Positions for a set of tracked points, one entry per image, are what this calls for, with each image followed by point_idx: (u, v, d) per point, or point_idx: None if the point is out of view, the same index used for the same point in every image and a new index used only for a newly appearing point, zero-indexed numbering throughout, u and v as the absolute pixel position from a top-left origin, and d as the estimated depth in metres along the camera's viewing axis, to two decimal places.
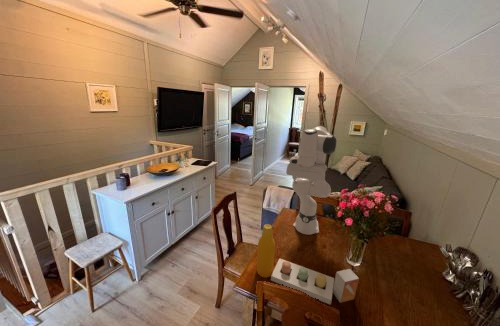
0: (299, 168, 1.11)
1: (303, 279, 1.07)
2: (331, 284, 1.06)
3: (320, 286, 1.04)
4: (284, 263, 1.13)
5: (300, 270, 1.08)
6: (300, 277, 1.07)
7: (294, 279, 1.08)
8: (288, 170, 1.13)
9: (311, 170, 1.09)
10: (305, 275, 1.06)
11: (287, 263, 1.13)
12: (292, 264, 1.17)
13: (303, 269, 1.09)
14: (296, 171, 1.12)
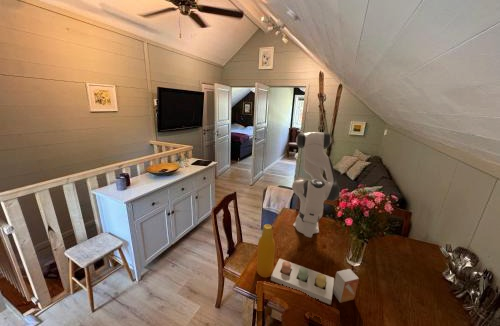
0: None
1: (303, 279, 1.07)
2: (331, 284, 1.06)
3: (320, 286, 1.04)
4: (284, 263, 1.13)
5: (300, 270, 1.08)
6: (300, 277, 1.07)
7: (294, 279, 1.08)
8: None
9: None
10: (305, 275, 1.06)
11: (287, 263, 1.13)
12: (292, 264, 1.17)
13: (303, 269, 1.09)
14: None
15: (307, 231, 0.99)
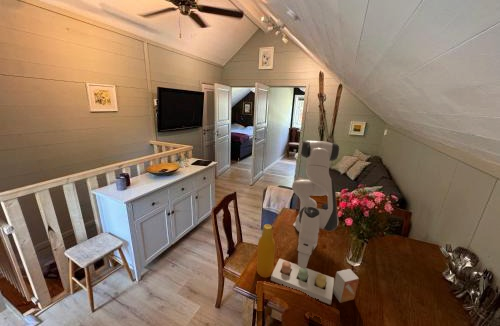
0: None
1: (303, 279, 1.07)
2: (331, 284, 1.06)
3: (320, 286, 1.04)
4: (284, 263, 1.13)
5: (300, 270, 1.08)
6: (300, 277, 1.07)
7: (294, 279, 1.08)
8: (307, 263, 0.96)
9: None
10: (305, 275, 1.06)
11: (287, 263, 1.13)
12: (292, 264, 1.17)
13: (303, 269, 1.09)
14: None
15: (301, 262, 0.96)
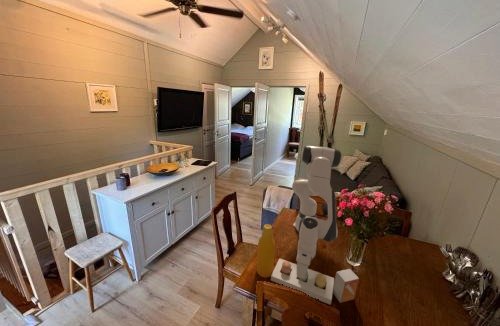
0: None
1: (303, 280, 1.07)
2: (331, 284, 1.06)
3: (320, 286, 1.04)
4: (284, 263, 1.13)
5: None
6: (300, 278, 1.08)
7: (294, 279, 1.08)
8: (305, 273, 0.98)
9: None
10: (305, 276, 1.07)
11: (287, 263, 1.13)
12: (292, 264, 1.17)
13: None
14: None
15: (300, 272, 0.97)
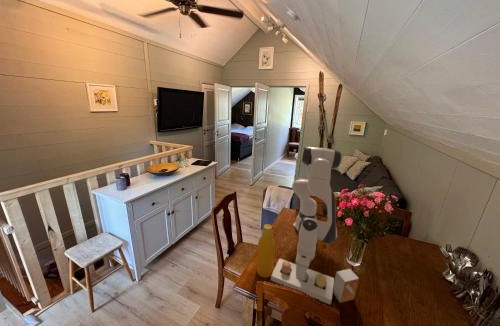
0: None
1: None
2: (331, 284, 1.06)
3: (320, 286, 1.04)
4: (284, 263, 1.13)
5: None
6: None
7: (294, 279, 1.08)
8: (304, 275, 0.98)
9: None
10: (305, 278, 1.07)
11: (287, 263, 1.13)
12: (292, 264, 1.17)
13: None
14: None
15: (299, 273, 0.98)
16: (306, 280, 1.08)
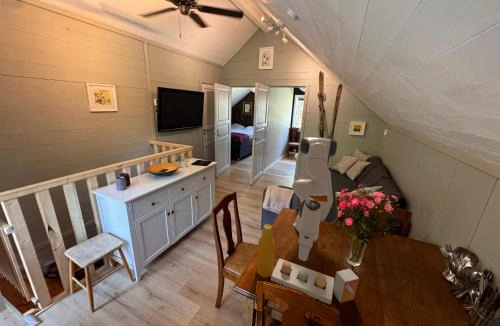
0: None
1: None
2: (331, 284, 1.06)
3: (320, 286, 1.04)
4: (284, 263, 1.13)
5: (300, 273, 1.09)
6: None
7: (294, 279, 1.08)
8: (307, 255, 0.96)
9: None
10: (305, 278, 1.07)
11: (287, 263, 1.13)
12: (292, 264, 1.17)
13: (303, 272, 1.10)
14: None
15: (302, 254, 0.96)
16: (306, 280, 1.08)
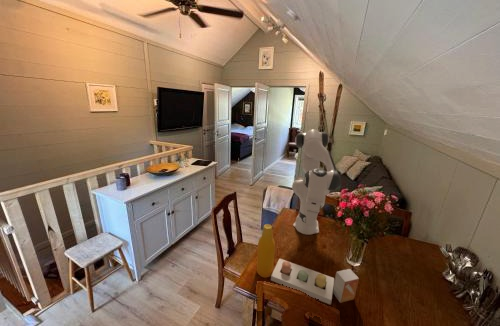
0: None
1: None
2: (331, 284, 1.06)
3: (320, 286, 1.04)
4: (284, 263, 1.13)
5: (300, 273, 1.09)
6: None
7: (294, 279, 1.08)
8: None
9: None
10: (305, 278, 1.07)
11: (287, 263, 1.13)
12: (292, 264, 1.17)
13: (303, 272, 1.10)
14: None
15: (309, 219, 0.99)
16: (306, 280, 1.08)
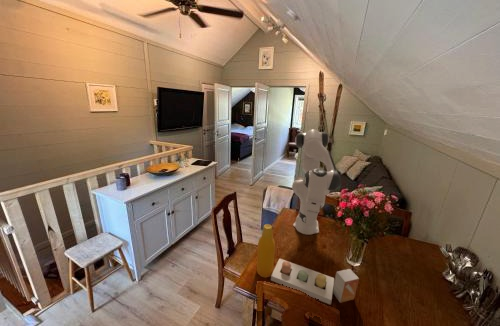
0: None
1: None
2: (331, 284, 1.06)
3: (320, 286, 1.04)
4: (284, 263, 1.13)
5: (300, 273, 1.09)
6: None
7: (294, 279, 1.08)
8: None
9: None
10: (305, 278, 1.07)
11: (287, 263, 1.13)
12: (292, 264, 1.17)
13: (303, 272, 1.10)
14: None
15: (309, 219, 0.99)
16: (306, 280, 1.08)
